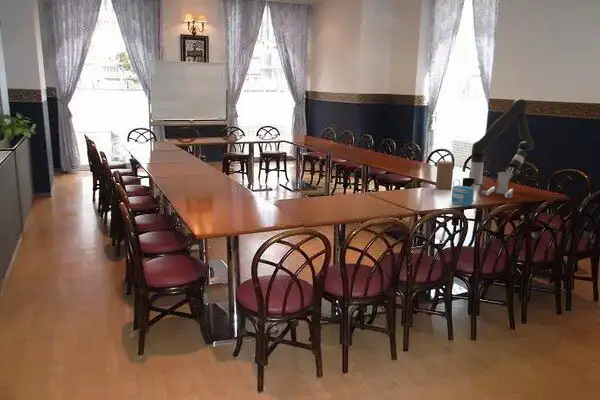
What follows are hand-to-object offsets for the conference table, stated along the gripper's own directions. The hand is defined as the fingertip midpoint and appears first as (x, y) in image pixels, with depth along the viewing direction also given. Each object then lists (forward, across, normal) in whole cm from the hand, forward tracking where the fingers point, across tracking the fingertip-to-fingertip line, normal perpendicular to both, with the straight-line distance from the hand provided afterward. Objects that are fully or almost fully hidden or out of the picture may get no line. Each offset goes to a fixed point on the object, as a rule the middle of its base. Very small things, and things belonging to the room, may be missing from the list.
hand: (506, 180), depth 365 cm
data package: (+55, +10, -44) cm, 71 cm away
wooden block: (+30, -30, -19) cm, 46 cm away
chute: (+17, +5, -6) cm, 19 cm away
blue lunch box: (+46, +3, -36) cm, 58 cm away
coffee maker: (+15, +4, -4) cm, 16 cm away
